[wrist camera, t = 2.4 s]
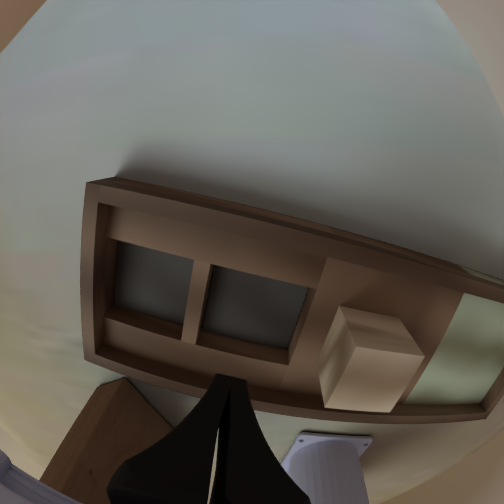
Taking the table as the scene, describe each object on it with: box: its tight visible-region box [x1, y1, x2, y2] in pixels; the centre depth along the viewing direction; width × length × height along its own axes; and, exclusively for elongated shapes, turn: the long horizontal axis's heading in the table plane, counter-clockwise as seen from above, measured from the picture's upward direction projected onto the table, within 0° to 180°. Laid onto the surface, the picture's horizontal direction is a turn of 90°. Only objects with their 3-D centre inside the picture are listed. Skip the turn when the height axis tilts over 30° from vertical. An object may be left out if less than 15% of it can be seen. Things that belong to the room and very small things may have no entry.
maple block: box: [316, 306, 425, 412], centre depth 17 cm, size 4×4×4 cm
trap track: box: [80, 177, 504, 424], centre depth 19 cm, size 13×37×4 cm, turn 77°
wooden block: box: [39, 378, 173, 504], centre depth 17 cm, size 9×4×18 cm, turn 29°
